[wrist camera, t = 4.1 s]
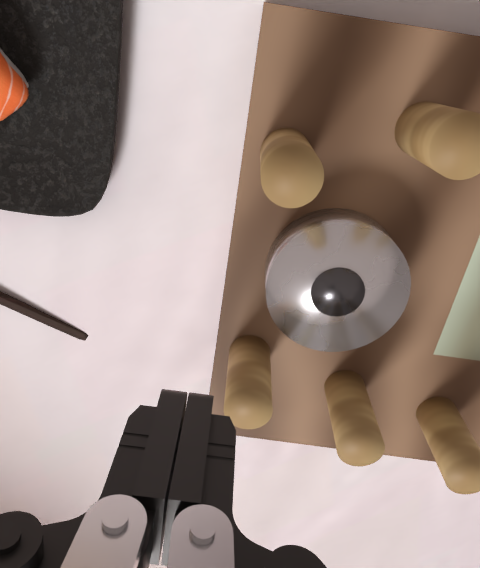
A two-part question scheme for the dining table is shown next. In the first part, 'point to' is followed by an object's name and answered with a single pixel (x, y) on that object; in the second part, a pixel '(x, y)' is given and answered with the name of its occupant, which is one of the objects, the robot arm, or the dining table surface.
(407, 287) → the pot lid
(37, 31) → the sushi plate
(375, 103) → the board
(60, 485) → the dining table surface
